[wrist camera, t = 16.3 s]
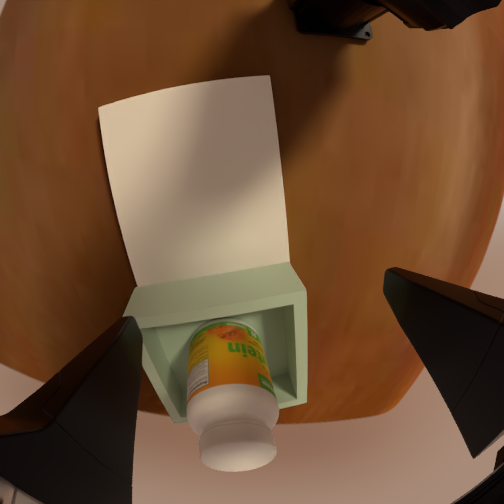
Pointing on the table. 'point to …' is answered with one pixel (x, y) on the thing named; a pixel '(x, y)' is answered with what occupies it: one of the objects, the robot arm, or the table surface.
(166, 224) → the board
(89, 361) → the robot arm
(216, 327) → the supplement bottle
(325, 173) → the table surface
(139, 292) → the sage green storage bin
